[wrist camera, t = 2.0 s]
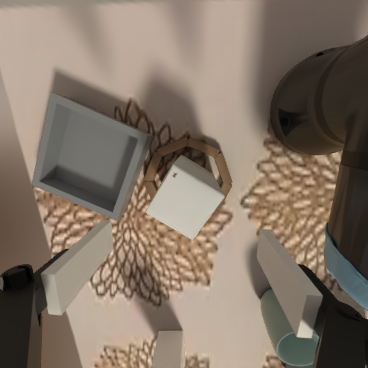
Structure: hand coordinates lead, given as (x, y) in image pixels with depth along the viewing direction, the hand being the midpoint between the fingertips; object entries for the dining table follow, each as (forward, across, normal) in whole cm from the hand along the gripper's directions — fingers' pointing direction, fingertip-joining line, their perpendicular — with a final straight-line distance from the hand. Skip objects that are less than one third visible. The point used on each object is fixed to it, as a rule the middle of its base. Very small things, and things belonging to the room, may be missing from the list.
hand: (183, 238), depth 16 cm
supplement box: (+19, 0, +1) cm, 19 cm away
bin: (+19, -18, +4) cm, 26 cm away
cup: (+19, +19, -24) cm, 36 cm away
